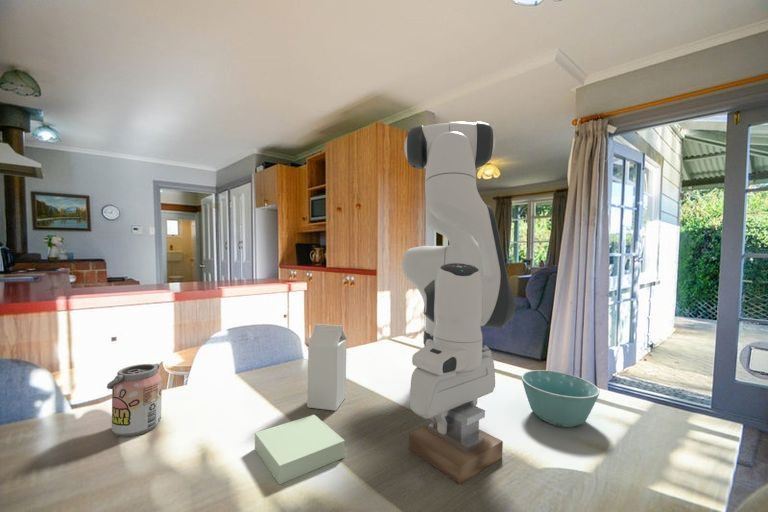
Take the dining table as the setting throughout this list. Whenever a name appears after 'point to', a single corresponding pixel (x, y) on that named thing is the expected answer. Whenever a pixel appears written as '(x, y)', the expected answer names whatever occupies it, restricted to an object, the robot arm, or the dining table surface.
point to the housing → (462, 427)
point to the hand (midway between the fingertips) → (455, 426)
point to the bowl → (559, 397)
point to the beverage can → (136, 400)
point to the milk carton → (326, 367)
